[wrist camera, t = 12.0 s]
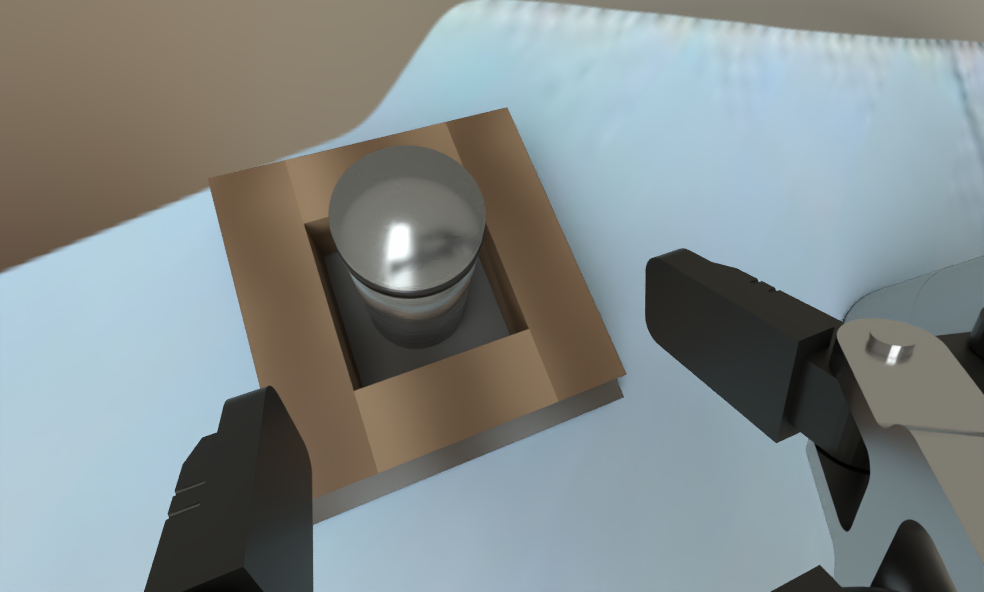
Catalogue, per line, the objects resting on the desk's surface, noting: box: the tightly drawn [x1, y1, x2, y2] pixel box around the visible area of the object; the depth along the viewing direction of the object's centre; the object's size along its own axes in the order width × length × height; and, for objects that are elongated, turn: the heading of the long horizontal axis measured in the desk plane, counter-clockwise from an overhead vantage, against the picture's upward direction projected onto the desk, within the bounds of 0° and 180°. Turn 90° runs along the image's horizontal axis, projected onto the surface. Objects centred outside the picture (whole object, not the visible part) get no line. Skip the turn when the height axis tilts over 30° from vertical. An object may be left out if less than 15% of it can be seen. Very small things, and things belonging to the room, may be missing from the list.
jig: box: [208, 108, 626, 525], centre depth 21 cm, size 15×15×4 cm
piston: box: [328, 145, 486, 349], centre depth 17 cm, size 4×4×9 cm
